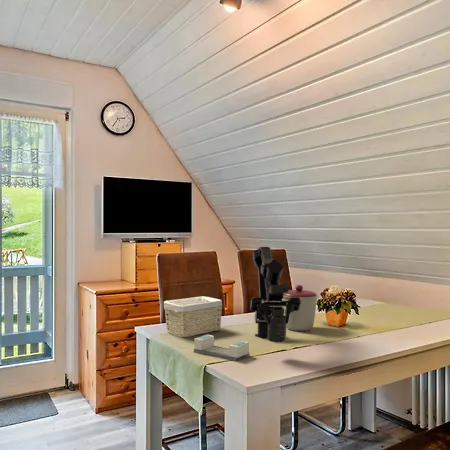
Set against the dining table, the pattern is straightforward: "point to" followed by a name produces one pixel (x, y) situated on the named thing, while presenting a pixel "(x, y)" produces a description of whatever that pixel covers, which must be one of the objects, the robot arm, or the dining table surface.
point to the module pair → (234, 349)
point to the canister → (301, 309)
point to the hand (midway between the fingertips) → (277, 323)
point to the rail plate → (219, 353)
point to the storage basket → (193, 316)
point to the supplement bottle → (277, 325)
